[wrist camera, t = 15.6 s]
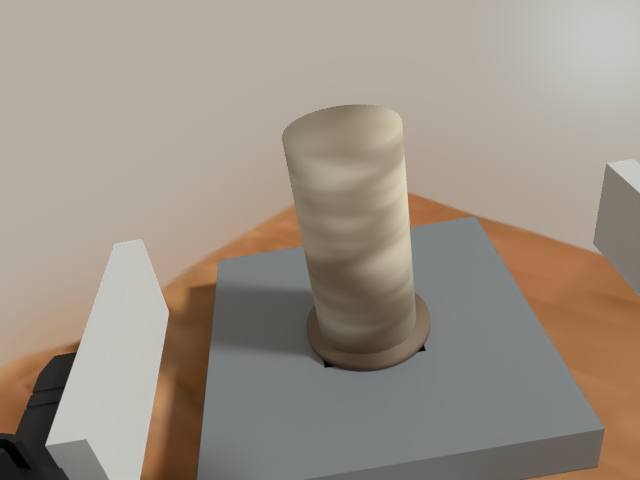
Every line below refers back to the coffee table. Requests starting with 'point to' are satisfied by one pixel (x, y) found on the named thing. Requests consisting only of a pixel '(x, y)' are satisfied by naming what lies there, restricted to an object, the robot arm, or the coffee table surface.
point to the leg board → (391, 379)
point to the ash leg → (356, 236)
